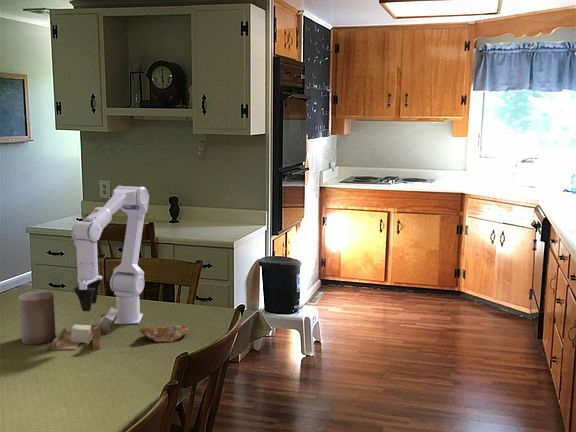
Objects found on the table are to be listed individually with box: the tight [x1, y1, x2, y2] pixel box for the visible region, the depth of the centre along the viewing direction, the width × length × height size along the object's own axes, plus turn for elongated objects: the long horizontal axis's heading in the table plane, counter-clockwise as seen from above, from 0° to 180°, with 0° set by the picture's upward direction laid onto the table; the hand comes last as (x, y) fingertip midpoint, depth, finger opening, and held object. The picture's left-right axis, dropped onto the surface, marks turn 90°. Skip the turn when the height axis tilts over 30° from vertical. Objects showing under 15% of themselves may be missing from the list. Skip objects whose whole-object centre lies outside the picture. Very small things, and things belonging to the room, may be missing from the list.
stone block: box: [70, 324, 93, 344], centre depth 188 cm, size 4×4×5 cm
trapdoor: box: [85, 306, 118, 346], centre depth 188 cm, size 11×10×3 cm
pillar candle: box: [18, 290, 57, 345], centre depth 188 cm, size 10×10×15 cm
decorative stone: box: [139, 324, 189, 343], centre depth 192 cm, size 10×4×15 cm
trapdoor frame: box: [50, 312, 111, 351], centre depth 188 cm, size 15×14×6 cm
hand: (89, 307), depth 187 cm, fingers open, 7 cm apart
